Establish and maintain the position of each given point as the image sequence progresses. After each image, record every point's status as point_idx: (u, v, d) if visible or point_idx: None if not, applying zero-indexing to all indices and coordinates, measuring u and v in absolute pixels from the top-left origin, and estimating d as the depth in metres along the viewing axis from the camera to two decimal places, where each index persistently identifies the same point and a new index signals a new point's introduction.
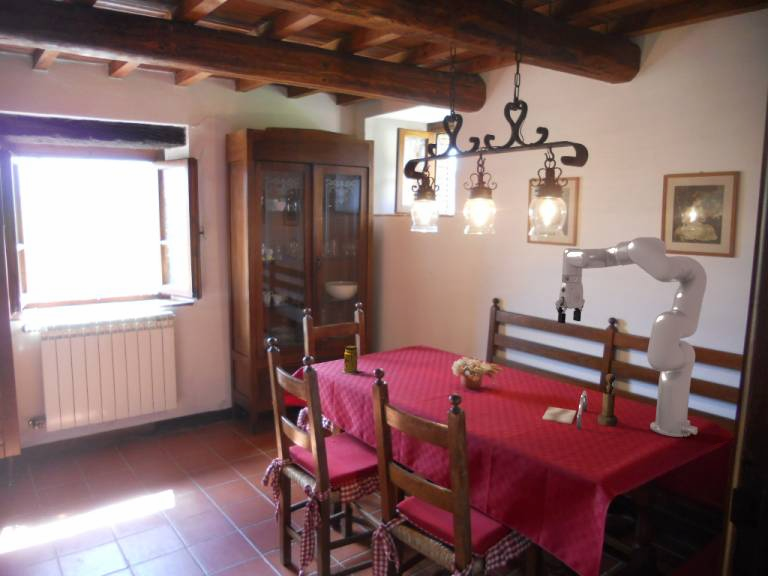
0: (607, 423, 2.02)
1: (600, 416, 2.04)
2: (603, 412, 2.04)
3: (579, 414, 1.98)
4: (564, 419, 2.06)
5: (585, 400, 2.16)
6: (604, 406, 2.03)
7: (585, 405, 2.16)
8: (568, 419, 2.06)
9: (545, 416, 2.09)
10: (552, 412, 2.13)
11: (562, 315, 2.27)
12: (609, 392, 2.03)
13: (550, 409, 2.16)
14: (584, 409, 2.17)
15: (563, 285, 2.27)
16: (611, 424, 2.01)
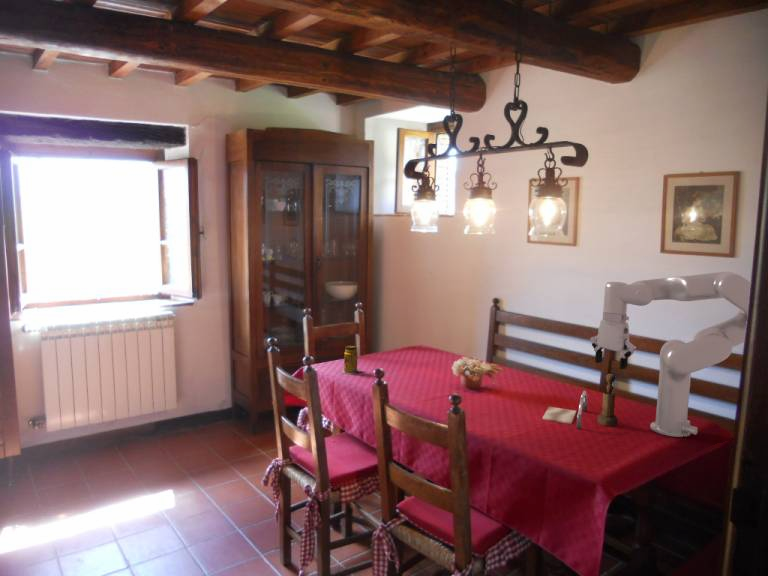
0: (607, 423, 2.02)
1: (600, 416, 2.04)
2: (603, 412, 2.04)
3: (579, 414, 1.98)
4: (564, 419, 2.06)
5: (585, 400, 2.16)
6: (604, 406, 2.03)
7: (585, 405, 2.16)
8: (568, 419, 2.06)
9: (545, 416, 2.09)
10: (552, 412, 2.13)
11: None
12: (609, 392, 2.03)
13: (550, 409, 2.16)
14: (584, 409, 2.17)
15: (624, 326, 1.97)
16: (611, 424, 2.01)
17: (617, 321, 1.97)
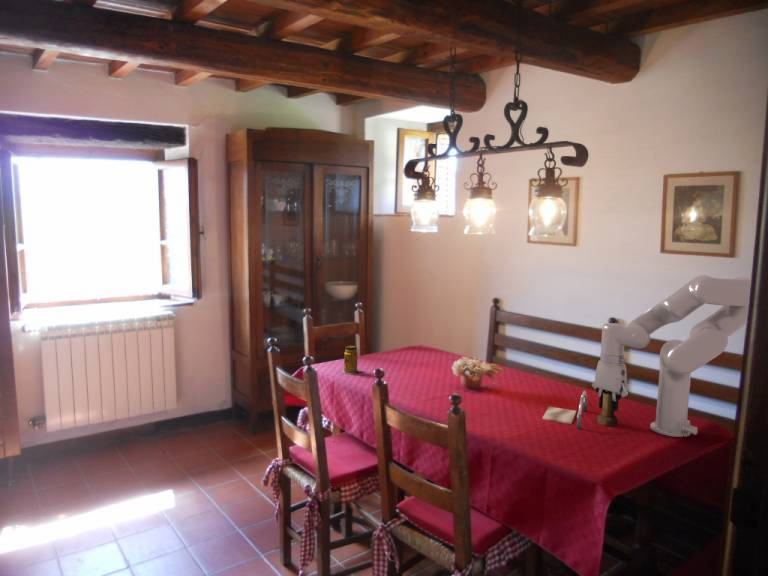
0: (607, 423, 2.02)
1: (600, 416, 2.04)
2: (603, 412, 2.04)
3: (579, 414, 1.98)
4: (564, 419, 2.06)
5: (585, 400, 2.16)
6: (604, 406, 2.03)
7: (585, 405, 2.16)
8: (568, 419, 2.06)
9: (545, 416, 2.09)
10: (552, 412, 2.13)
11: None
12: (609, 392, 2.03)
13: (550, 409, 2.16)
14: (584, 409, 2.17)
15: (622, 367, 1.98)
16: (611, 424, 2.01)
17: (614, 363, 1.98)
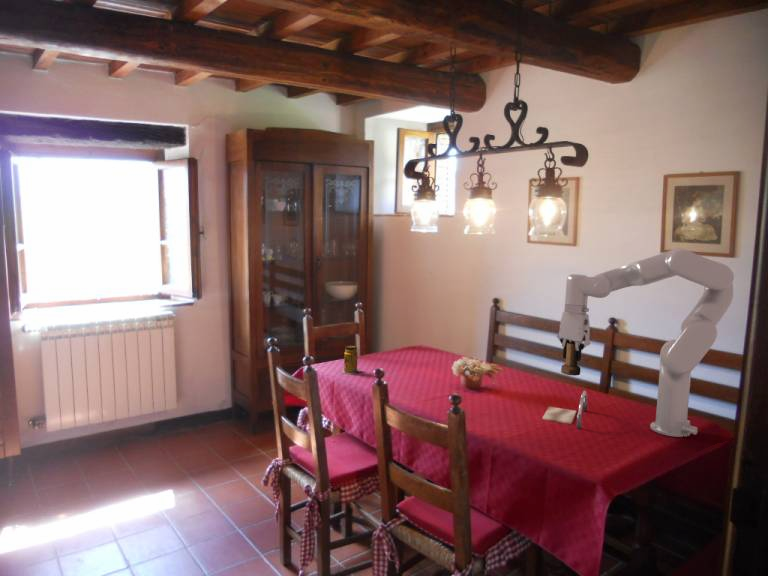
0: (569, 372, 2.05)
1: (563, 366, 2.08)
2: (566, 362, 2.07)
3: (579, 414, 1.98)
4: (564, 419, 2.06)
5: (585, 400, 2.16)
6: (567, 356, 2.07)
7: (585, 405, 2.16)
8: (568, 419, 2.06)
9: (545, 416, 2.09)
10: (552, 412, 2.13)
11: None
12: (572, 342, 2.06)
13: (550, 409, 2.16)
14: (584, 409, 2.17)
15: (585, 317, 2.02)
16: (574, 373, 2.05)
17: (577, 313, 2.02)
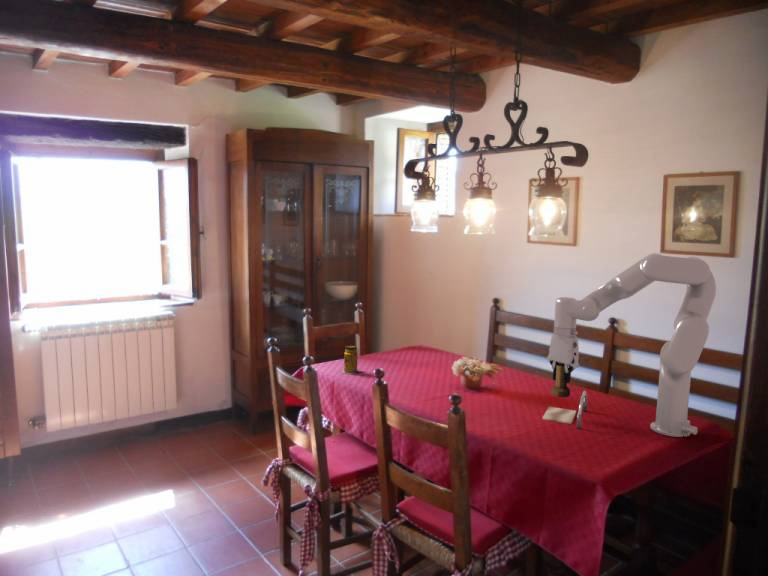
0: (559, 394, 2.08)
1: (553, 387, 2.10)
2: (556, 384, 2.10)
3: (579, 414, 1.98)
4: (564, 419, 2.06)
5: (585, 400, 2.16)
6: (557, 378, 2.09)
7: (585, 405, 2.16)
8: (568, 419, 2.06)
9: (545, 416, 2.09)
10: (552, 412, 2.13)
11: None
12: (562, 364, 2.09)
13: (550, 409, 2.16)
14: (584, 409, 2.17)
15: (573, 340, 2.04)
16: (563, 395, 2.07)
17: (566, 335, 2.04)
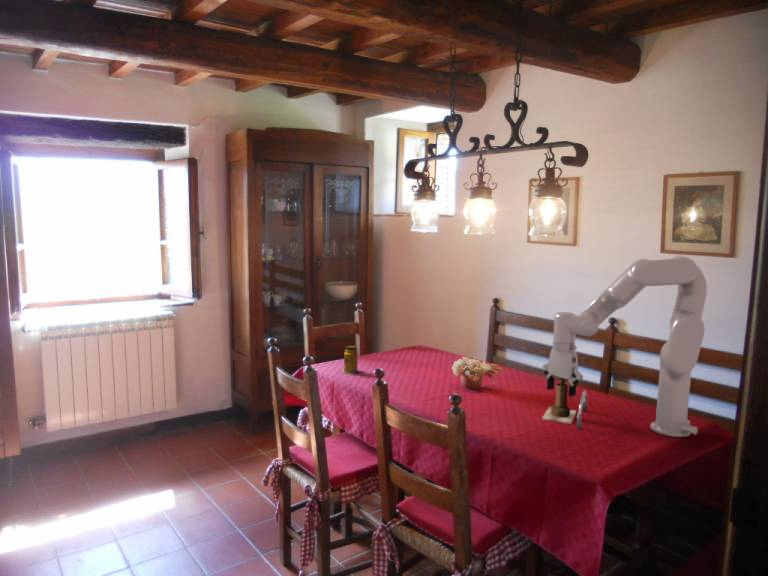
0: (559, 413, 2.08)
1: (553, 407, 2.11)
2: (556, 403, 2.10)
3: (579, 414, 1.98)
4: (564, 419, 2.06)
5: (585, 400, 2.16)
6: (557, 397, 2.10)
7: (585, 405, 2.16)
8: (568, 419, 2.06)
9: (545, 416, 2.09)
10: None
11: None
12: (562, 384, 2.09)
13: (550, 409, 2.16)
14: (584, 409, 2.17)
15: (572, 355, 2.05)
16: (563, 415, 2.08)
17: (565, 350, 2.05)
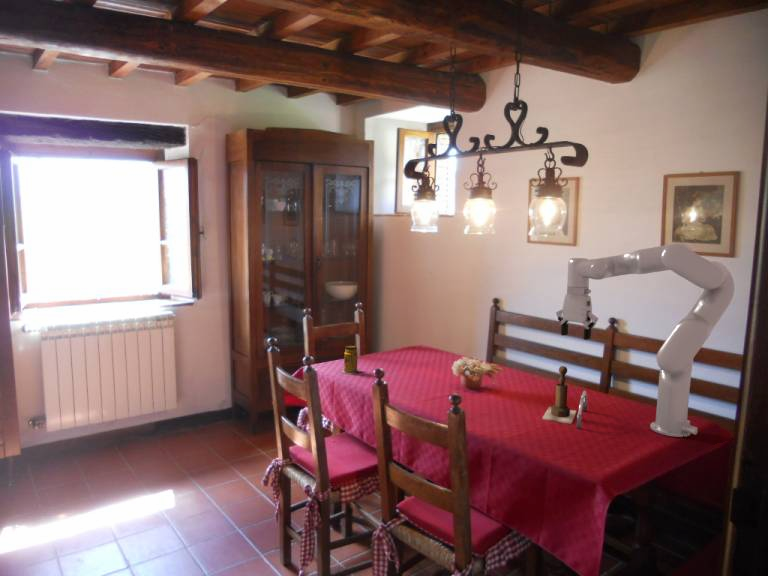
0: (559, 413, 2.08)
1: (553, 407, 2.11)
2: (556, 403, 2.10)
3: (579, 414, 1.98)
4: (564, 419, 2.06)
5: (585, 400, 2.16)
6: (557, 397, 2.10)
7: (585, 405, 2.16)
8: (568, 419, 2.06)
9: (545, 416, 2.09)
10: None
11: None
12: (562, 384, 2.09)
13: (550, 409, 2.16)
14: (584, 409, 2.17)
15: (587, 298, 2.09)
16: (563, 415, 2.08)
17: (580, 294, 2.09)
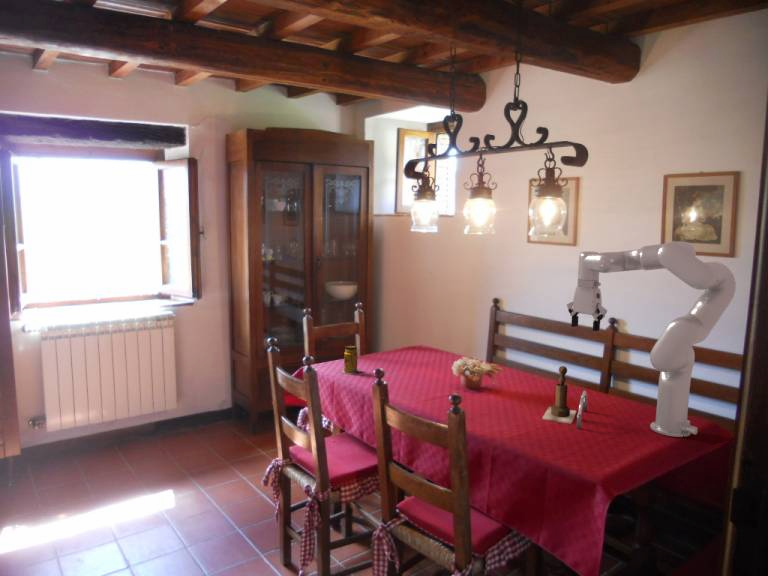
0: (559, 413, 2.08)
1: (553, 407, 2.11)
2: (556, 403, 2.10)
3: (579, 414, 1.98)
4: (564, 419, 2.06)
5: (585, 400, 2.16)
6: (557, 397, 2.10)
7: (585, 405, 2.16)
8: (568, 419, 2.06)
9: (545, 416, 2.09)
10: None
11: None
12: (561, 384, 2.09)
13: (550, 409, 2.16)
14: (584, 409, 2.17)
15: (597, 291, 2.15)
16: (563, 415, 2.08)
17: (590, 287, 2.15)
